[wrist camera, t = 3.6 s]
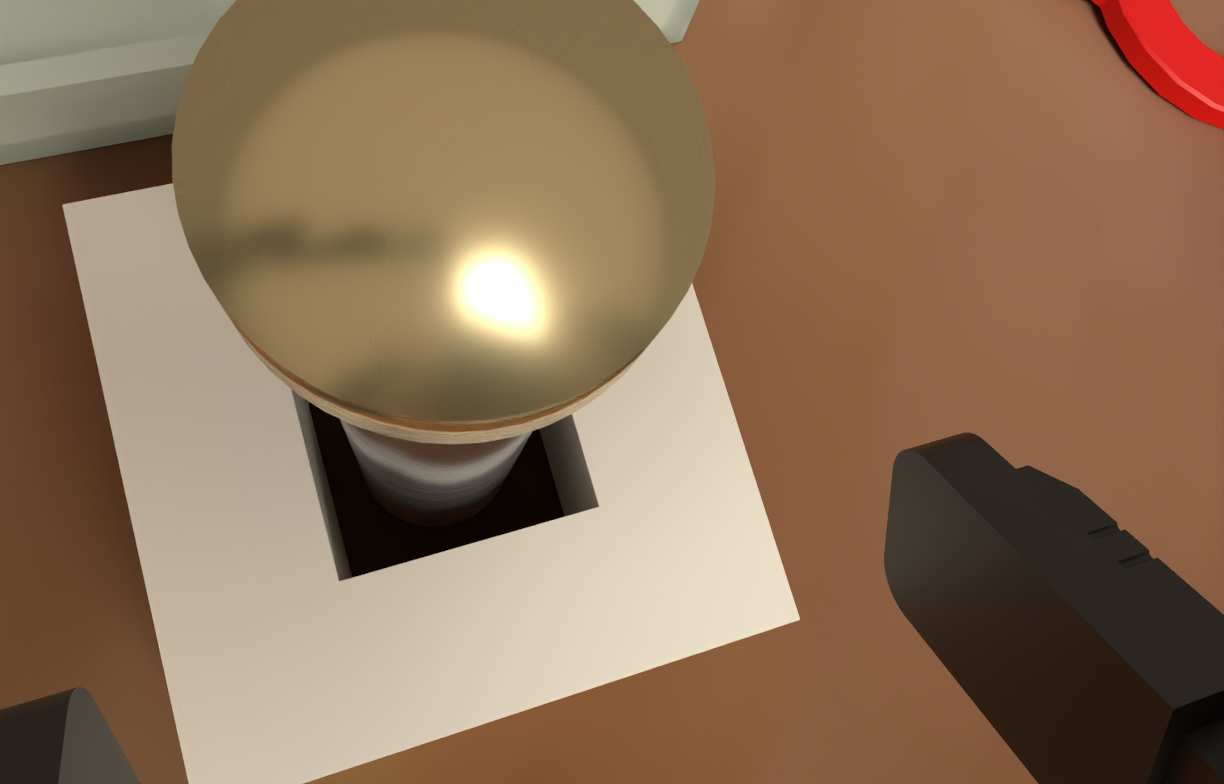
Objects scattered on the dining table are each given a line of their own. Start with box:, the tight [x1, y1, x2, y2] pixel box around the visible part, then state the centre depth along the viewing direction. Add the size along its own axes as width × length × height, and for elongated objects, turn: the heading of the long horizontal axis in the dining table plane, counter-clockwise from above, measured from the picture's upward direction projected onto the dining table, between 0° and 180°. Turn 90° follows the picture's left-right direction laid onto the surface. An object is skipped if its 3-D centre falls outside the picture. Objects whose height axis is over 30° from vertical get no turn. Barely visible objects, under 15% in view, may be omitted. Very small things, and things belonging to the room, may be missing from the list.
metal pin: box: [172, 0, 715, 527], centre depth 14 cm, size 4×4×14 cm
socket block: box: [63, 183, 800, 784], centre depth 19 cm, size 10×10×4 cm
